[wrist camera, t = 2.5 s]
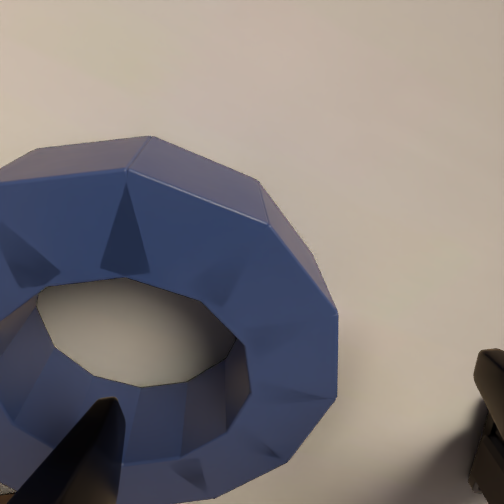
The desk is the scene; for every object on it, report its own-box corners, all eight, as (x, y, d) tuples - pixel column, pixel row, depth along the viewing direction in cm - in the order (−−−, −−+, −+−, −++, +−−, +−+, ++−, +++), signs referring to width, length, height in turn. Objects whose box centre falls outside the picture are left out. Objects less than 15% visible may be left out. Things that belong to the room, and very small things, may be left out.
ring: (309, 116, 10) (341, 143, 7) (316, 408, 15) (336, 484, 13) (-127, 166, 10) (-257, 212, 7) (35, 444, 15) (-4, 528, 12)
